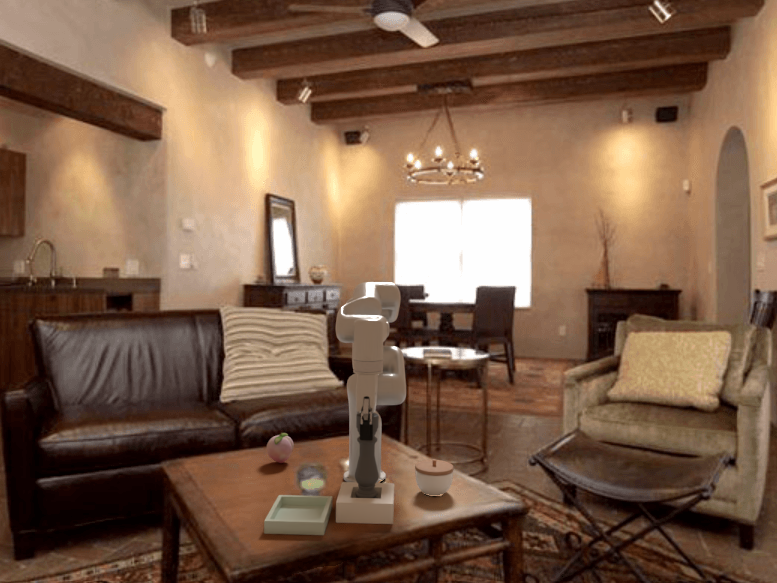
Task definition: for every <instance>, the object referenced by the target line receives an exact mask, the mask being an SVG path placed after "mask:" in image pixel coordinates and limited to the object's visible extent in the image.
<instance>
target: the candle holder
mask: <svg viewBox="0 0 777 583" xmlns="http://www.w3.org/2000/svg"><path fill="white" fill-rule="evenodd" d="M378 414H379V413H378ZM378 414H376V413H373V414H372V424H373V440H360V436H359V437H358V438H357V441H358V442H359V444H360V455H359V459H358V463H357V467H356V471H355V479H356V481H357V483H358V487H359V488H358V490H357V491H356V493H355V494H356V497H355V498H378V497H377V495H378V493H377V491H376V490H375V488H374V487H375V484H376V482H377V480H378V478H379V474H378V469H377V464H376V460H375V443H376V442H377V437H375V434H376V432H377V429H378V427H379V415H380V414H379V415H378ZM369 416H370V415H369ZM360 424H361V413H359V414H357V415H356V427H357V430H358V432H359V435H360Z"/></svg>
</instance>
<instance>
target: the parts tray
mask: <svg viewBox="0 0 777 583" xmlns="http://www.w3.org/2000/svg"><path fill="white" fill-rule="evenodd" d="M332 510H333V496H331V495H326V496H325V495H297V494H296V495H295V494H293V495H292V494H279V495H278V496H277V497H276V499H275V501H274V502H273V505H272V507H271V509H270V510H269V512H268V513H267V515H266V517H265V519H264V523H263V524H264V526H263V529H264V530H263V534H264V535H265V534H266V535H267V534H269V535H270V534H271V535H304V536H305V535H307V536H310V535H311V536H324V535H325V533H326V528H327V526H328V524H329V519H330V516H331V513H332Z"/></svg>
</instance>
